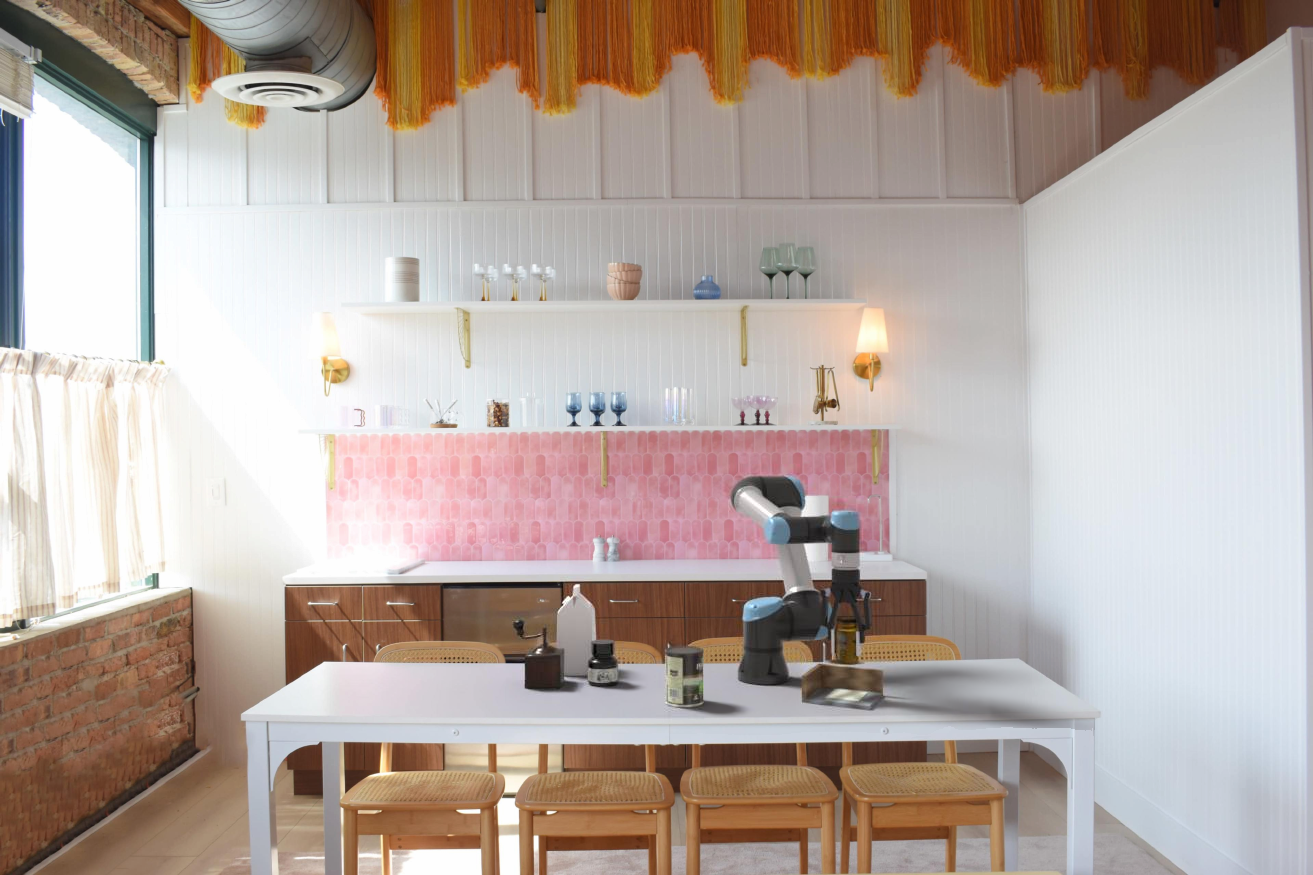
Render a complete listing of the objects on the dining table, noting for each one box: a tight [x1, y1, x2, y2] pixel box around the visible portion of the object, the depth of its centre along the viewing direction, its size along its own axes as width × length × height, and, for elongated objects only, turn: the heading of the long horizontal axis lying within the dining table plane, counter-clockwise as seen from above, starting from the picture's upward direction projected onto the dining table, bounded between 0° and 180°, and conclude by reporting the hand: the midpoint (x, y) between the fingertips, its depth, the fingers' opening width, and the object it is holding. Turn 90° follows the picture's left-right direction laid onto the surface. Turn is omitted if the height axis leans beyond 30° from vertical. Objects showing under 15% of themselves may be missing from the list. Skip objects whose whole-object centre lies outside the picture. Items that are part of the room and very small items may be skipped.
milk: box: [555, 584, 597, 677], centre depth 282 cm, size 12×12×26 cm
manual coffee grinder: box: [512, 618, 566, 690], centre depth 266 cm, size 16×11×18 cm
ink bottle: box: [587, 639, 619, 687], centre depth 266 cm, size 10×9×12 cm
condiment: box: [824, 616, 865, 667], centre depth 248 cm, size 7×8×12 cm
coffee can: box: [664, 645, 705, 709], centre depth 245 cm, size 10×10×14 cm
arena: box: [801, 663, 884, 711], centre depth 248 cm, size 18×16×7 cm
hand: (846, 653), depth 248 cm, fingers closed on condiment, 6 cm apart
